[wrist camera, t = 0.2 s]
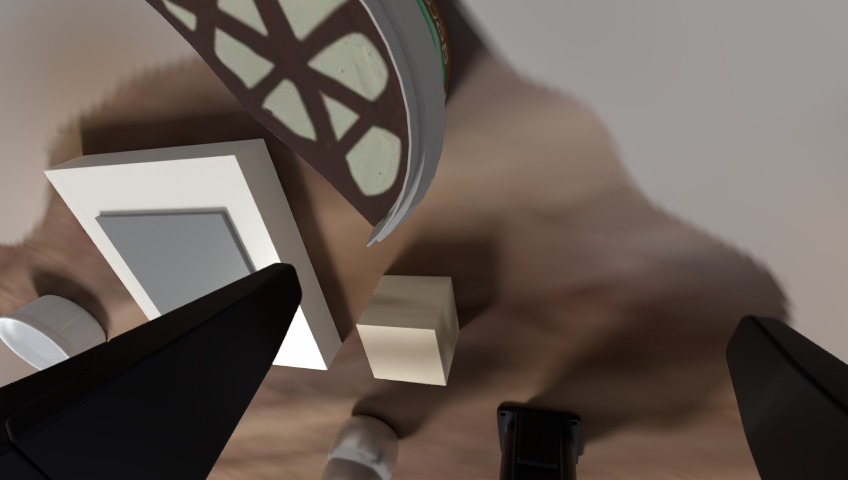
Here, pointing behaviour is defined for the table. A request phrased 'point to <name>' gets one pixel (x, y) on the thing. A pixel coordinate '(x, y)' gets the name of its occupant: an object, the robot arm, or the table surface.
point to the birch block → (410, 329)
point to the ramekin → (50, 331)
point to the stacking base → (197, 230)
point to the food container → (337, 87)
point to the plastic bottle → (362, 451)
